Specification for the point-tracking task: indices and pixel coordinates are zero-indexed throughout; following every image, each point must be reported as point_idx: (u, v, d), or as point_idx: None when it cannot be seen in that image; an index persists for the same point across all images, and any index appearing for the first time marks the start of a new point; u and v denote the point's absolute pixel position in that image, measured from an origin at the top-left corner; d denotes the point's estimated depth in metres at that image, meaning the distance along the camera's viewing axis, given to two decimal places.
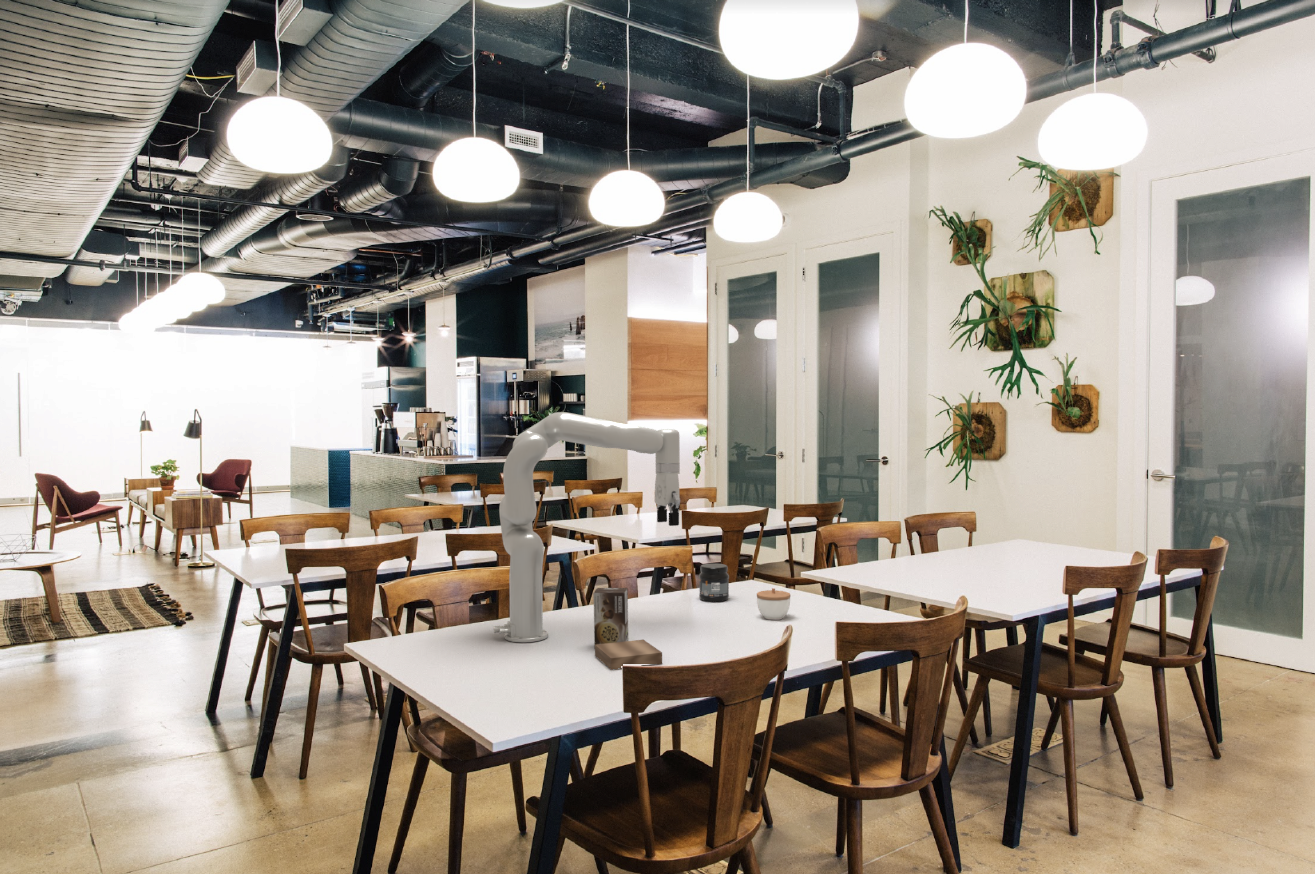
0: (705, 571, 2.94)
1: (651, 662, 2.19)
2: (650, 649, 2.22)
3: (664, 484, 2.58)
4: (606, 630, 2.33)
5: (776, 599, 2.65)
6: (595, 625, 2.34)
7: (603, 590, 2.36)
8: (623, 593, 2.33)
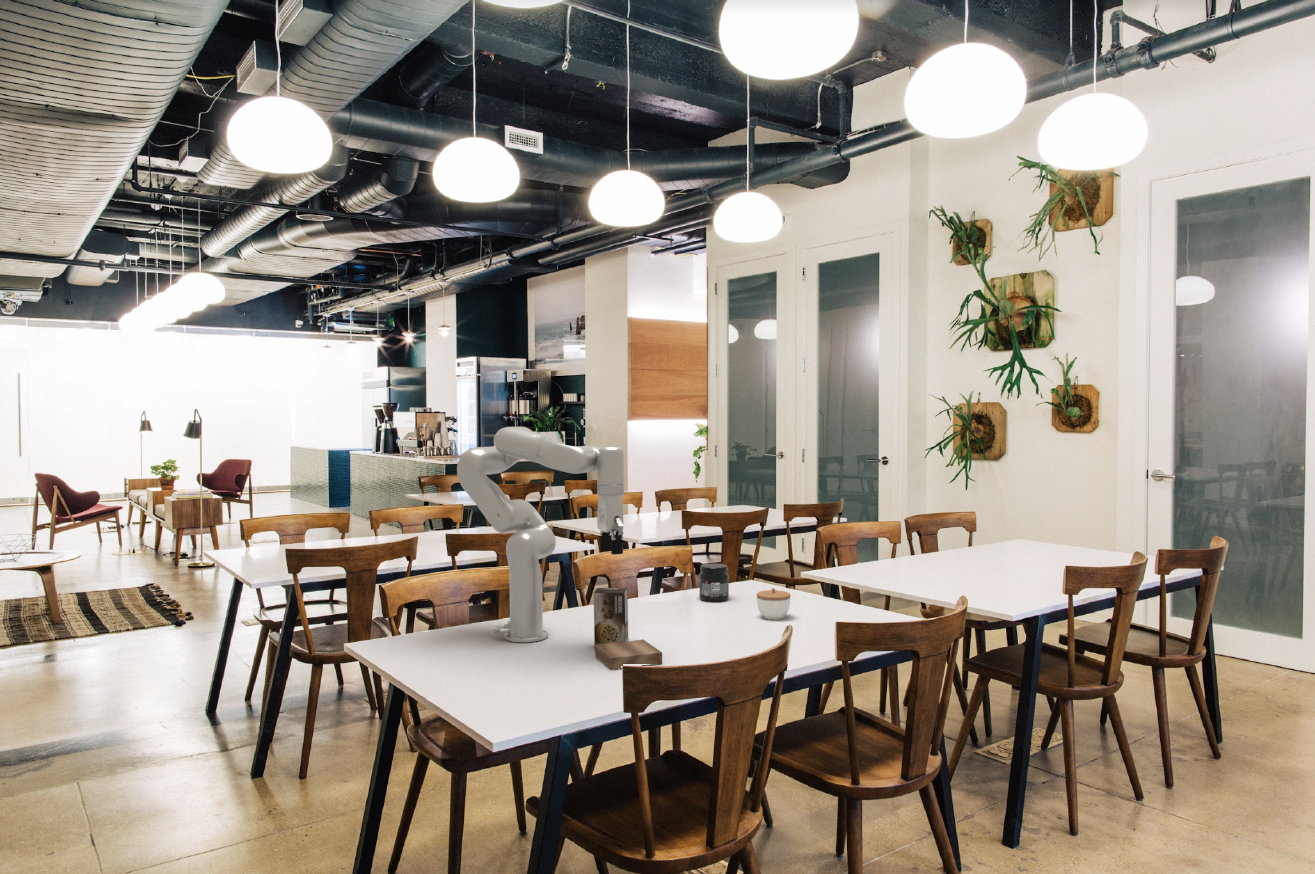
0: (705, 571, 2.94)
1: (651, 662, 2.19)
2: (650, 649, 2.22)
3: (606, 508, 2.31)
4: (606, 630, 2.33)
5: (776, 599, 2.65)
6: (595, 625, 2.34)
7: (603, 590, 2.36)
8: (623, 593, 2.33)
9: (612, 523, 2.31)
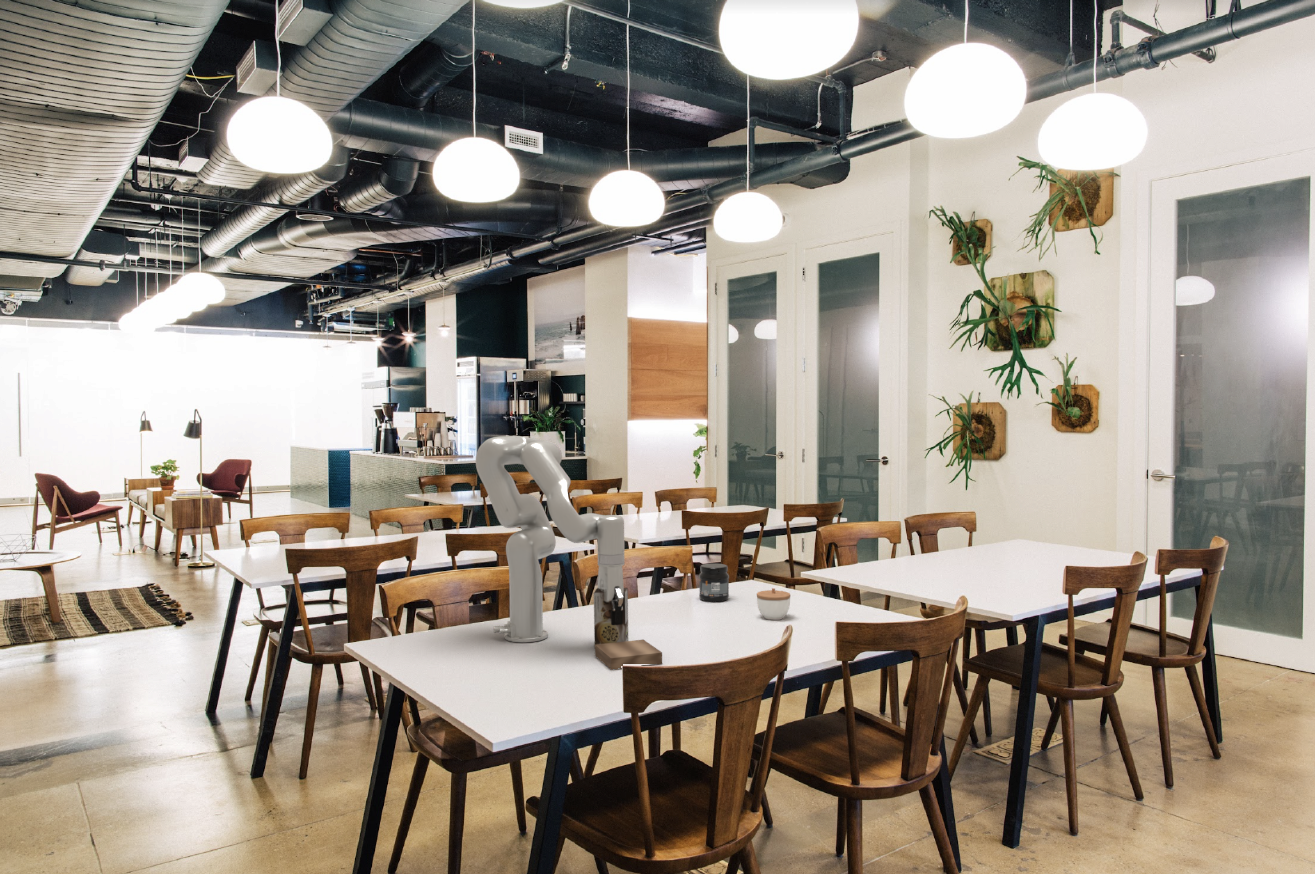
0: (705, 571, 2.94)
1: (651, 662, 2.19)
2: (650, 649, 2.22)
3: (606, 578, 2.32)
4: (606, 630, 2.33)
5: (776, 599, 2.65)
6: (595, 625, 2.34)
7: None
8: None
9: (612, 593, 2.31)
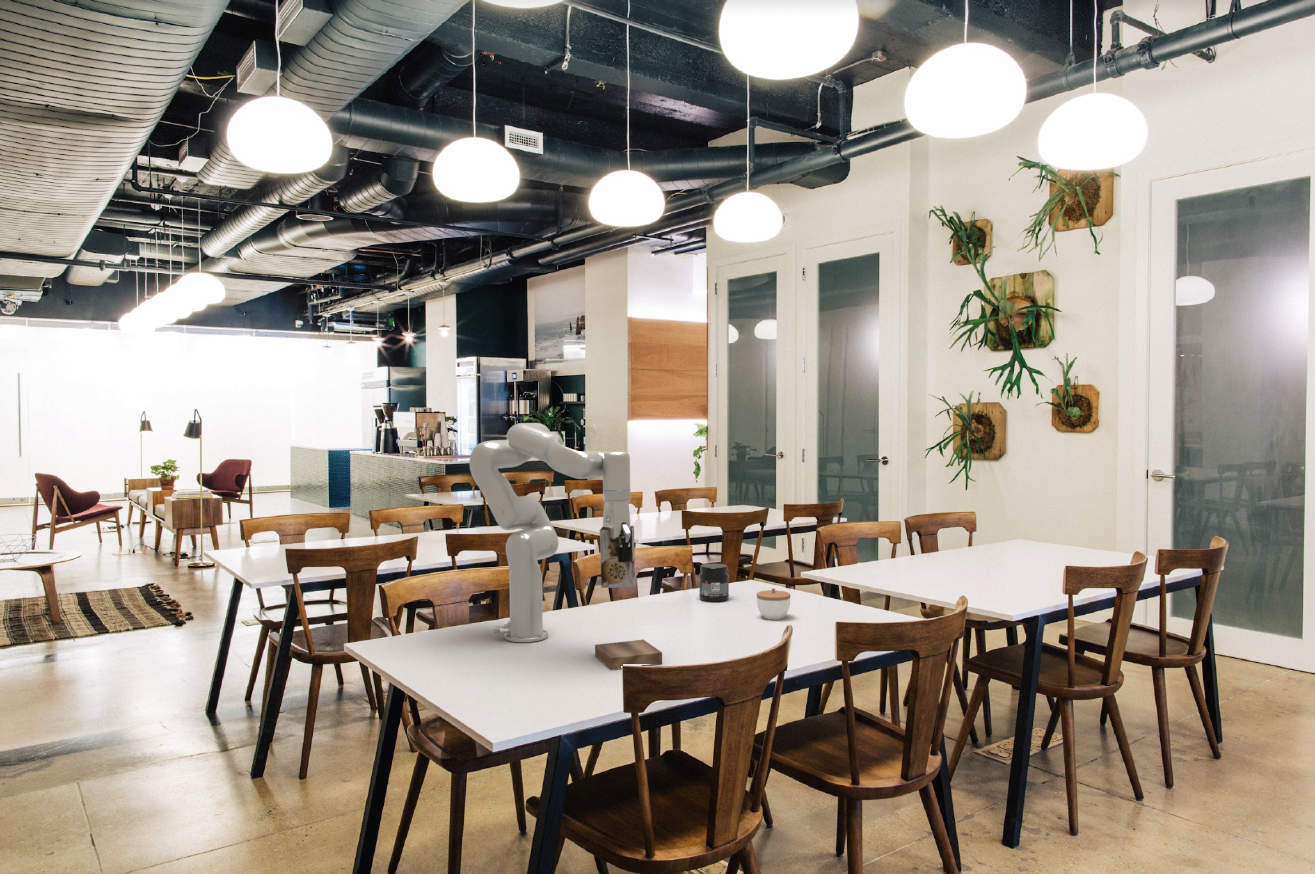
0: (705, 571, 2.94)
1: (651, 662, 2.19)
2: (650, 649, 2.22)
3: (612, 514, 2.26)
4: (613, 568, 2.28)
5: (776, 599, 2.65)
6: (602, 563, 2.28)
7: None
8: (630, 529, 2.28)
9: (619, 529, 2.26)
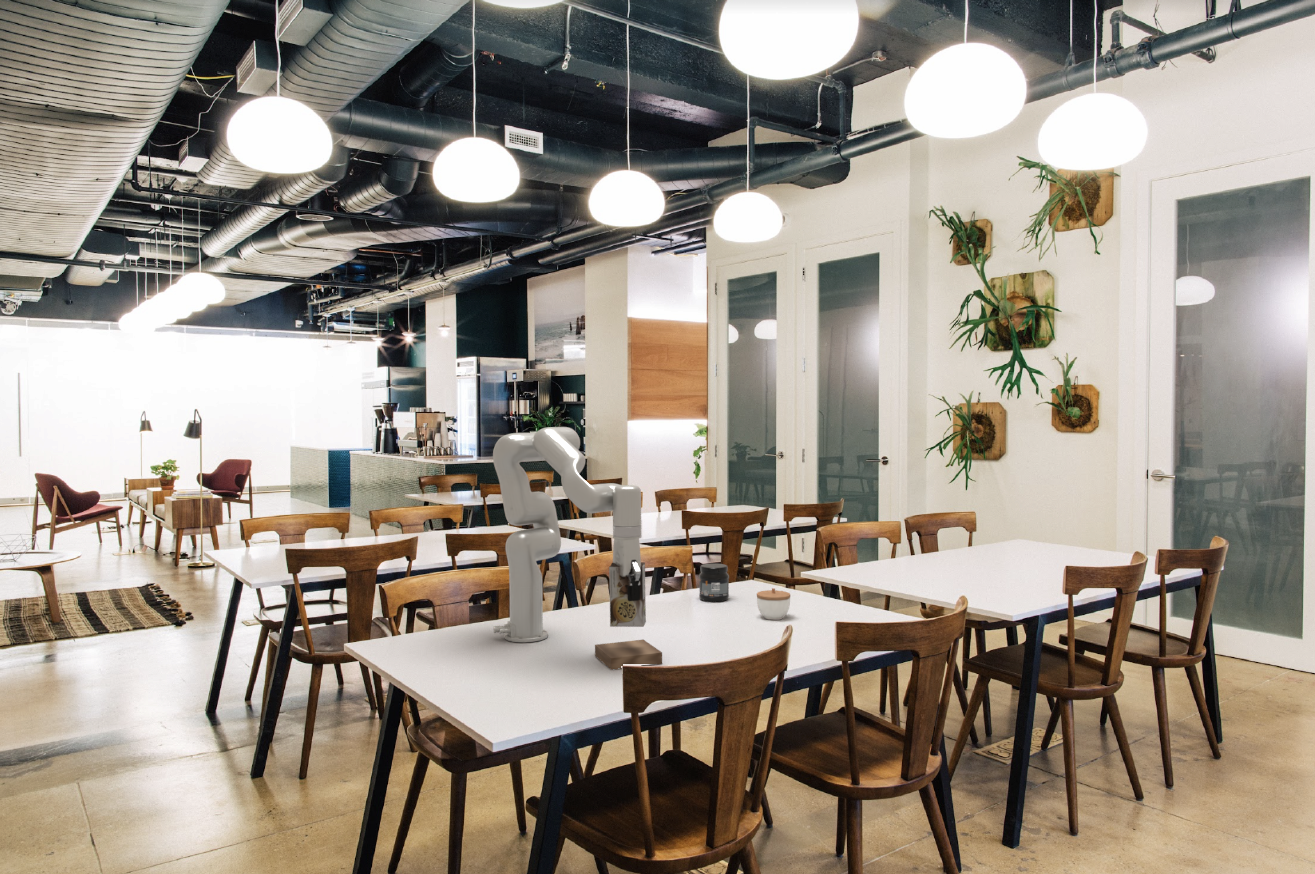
0: (705, 571, 2.94)
1: (651, 662, 2.19)
2: (650, 649, 2.22)
3: (622, 551, 2.19)
4: (622, 606, 2.20)
5: (776, 599, 2.65)
6: (611, 601, 2.21)
7: None
8: (641, 567, 2.20)
9: (629, 567, 2.18)
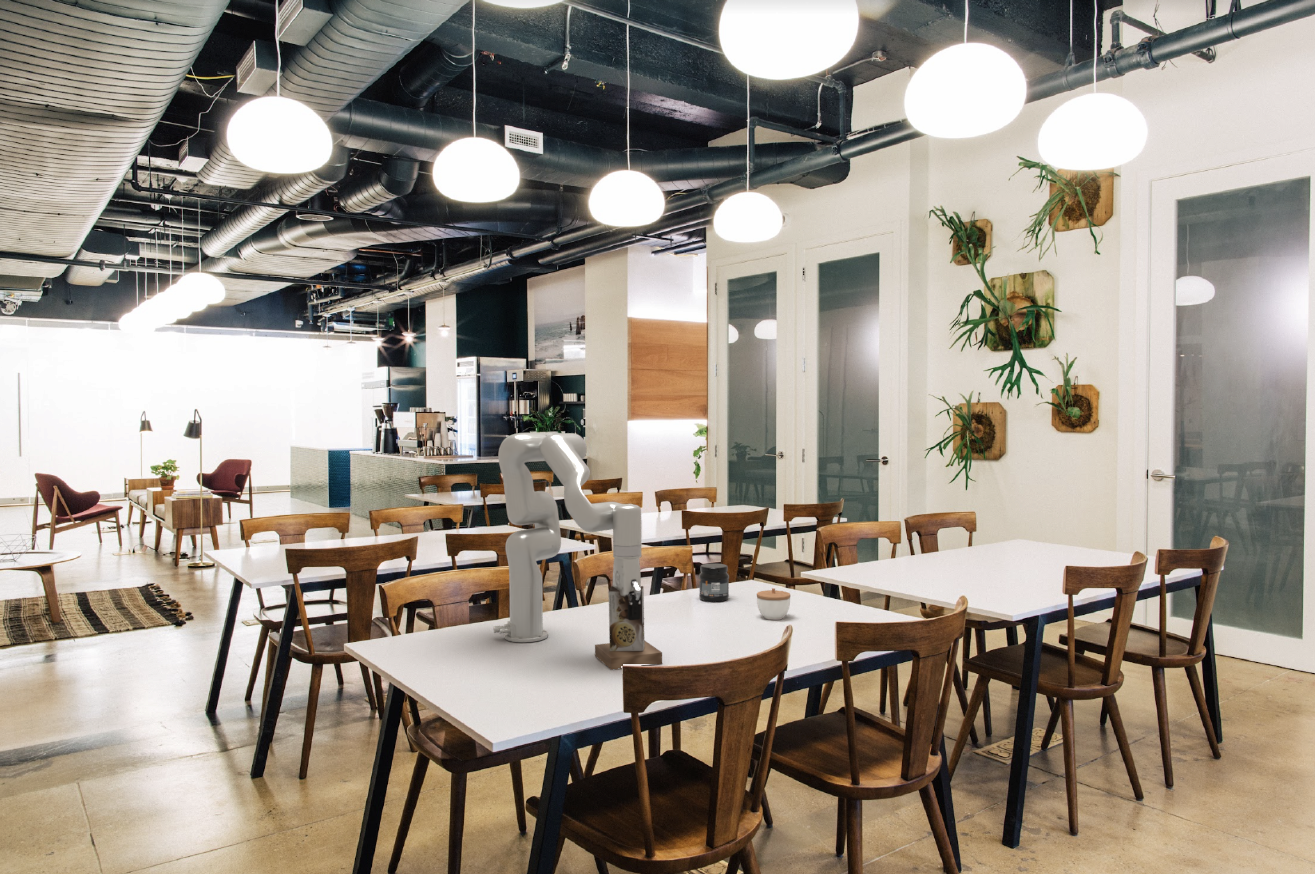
0: (705, 571, 2.94)
1: (651, 662, 2.19)
2: (650, 649, 2.22)
3: (622, 571, 2.19)
4: (622, 631, 2.20)
5: (776, 599, 2.65)
6: (610, 626, 2.21)
7: None
8: None
9: (629, 587, 2.18)
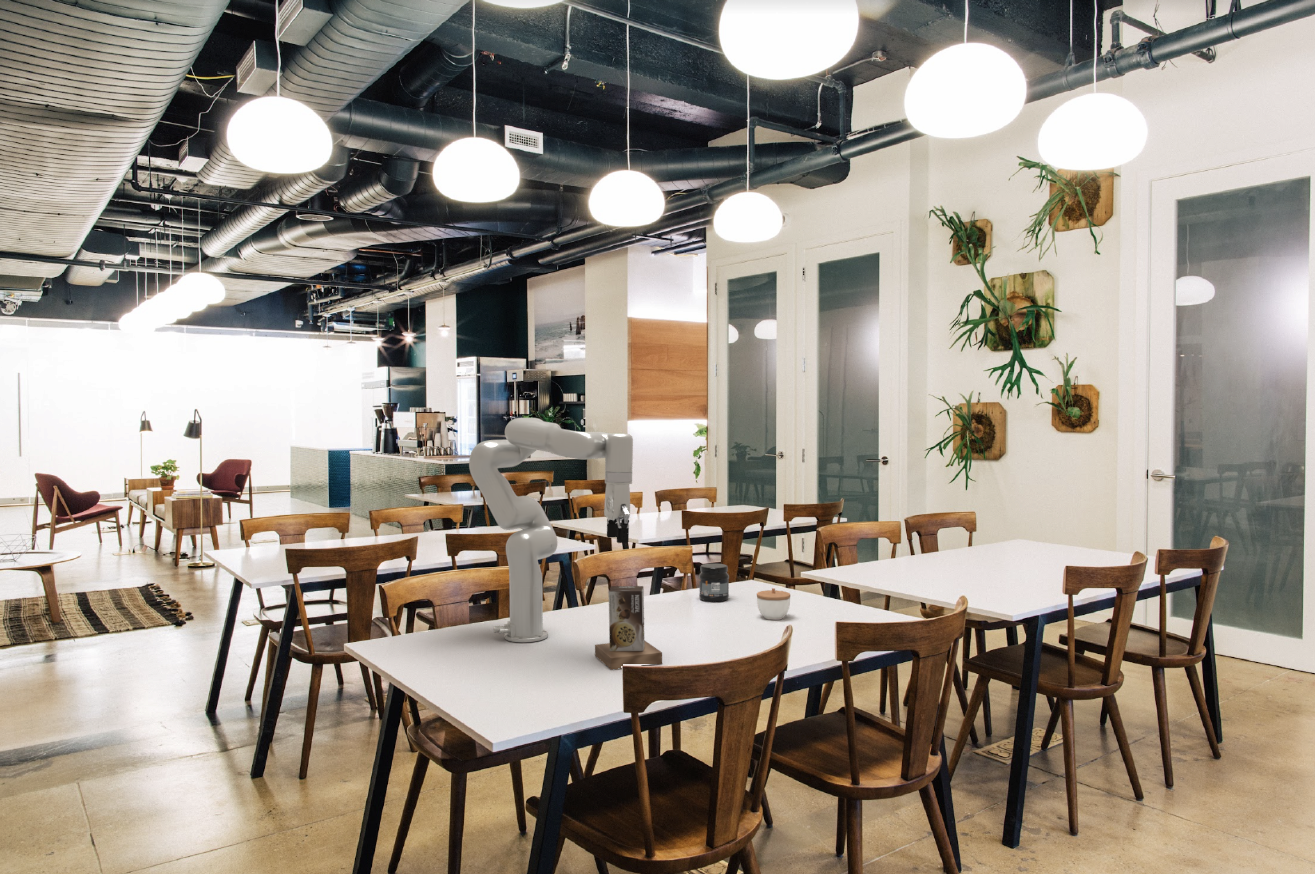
0: (705, 571, 2.94)
1: (651, 662, 2.19)
2: (650, 649, 2.22)
3: (613, 495, 2.28)
4: (622, 631, 2.20)
5: (776, 599, 2.65)
6: (610, 626, 2.21)
7: (618, 588, 2.23)
8: (640, 591, 2.20)
9: (618, 511, 2.27)
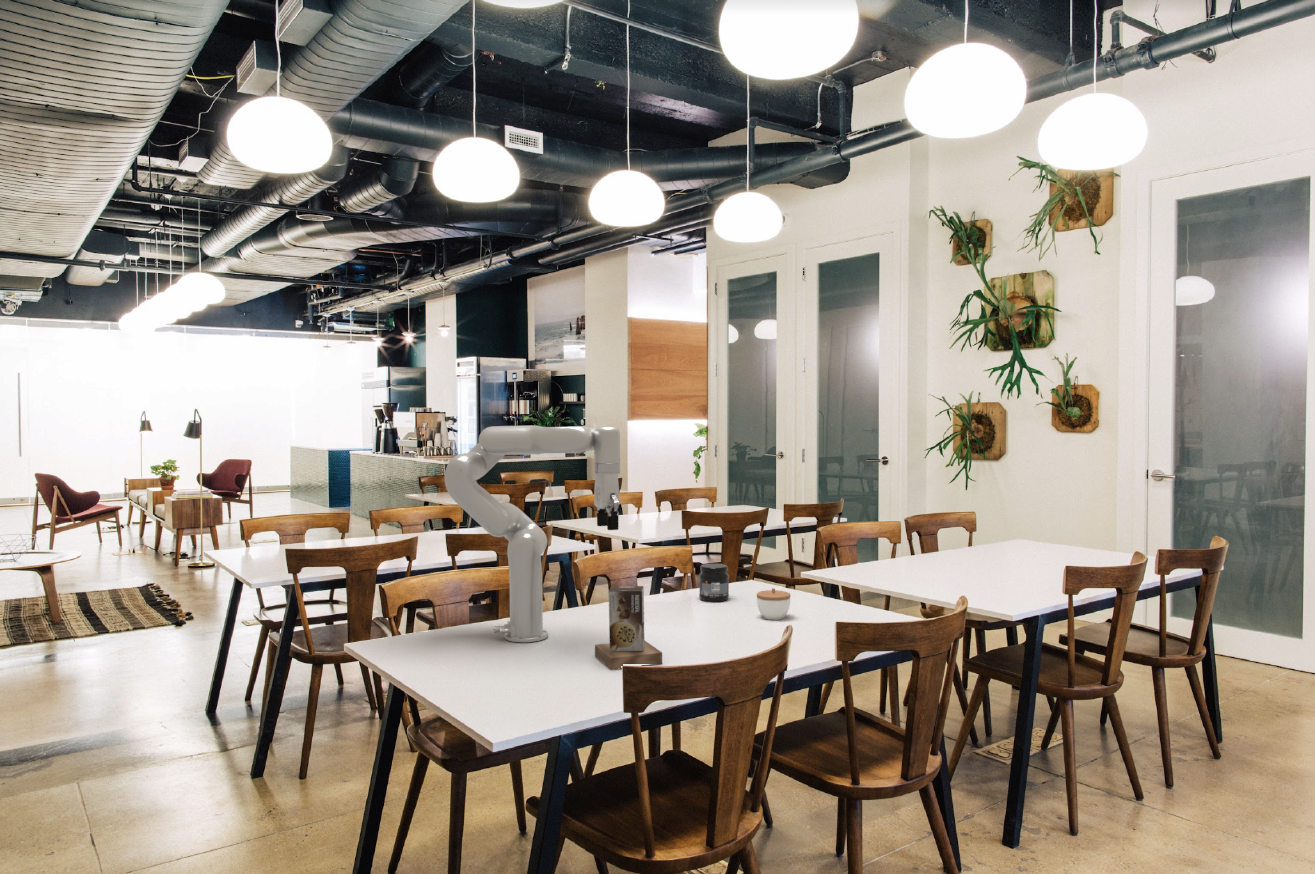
0: (705, 571, 2.94)
1: (651, 662, 2.19)
2: (650, 649, 2.22)
3: (602, 485, 2.40)
4: (622, 631, 2.20)
5: (776, 599, 2.65)
6: (610, 626, 2.21)
7: (618, 588, 2.23)
8: (640, 591, 2.20)
9: (608, 500, 2.40)
